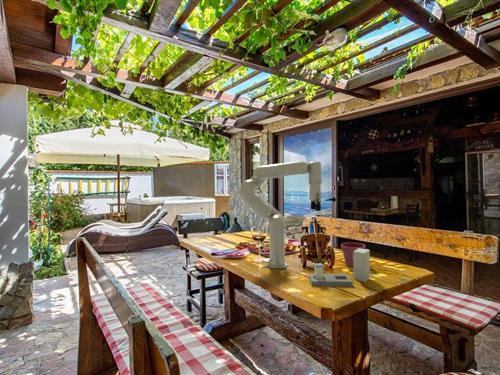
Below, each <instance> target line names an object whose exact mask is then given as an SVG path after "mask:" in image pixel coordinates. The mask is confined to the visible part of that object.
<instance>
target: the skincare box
mask: <svg viewBox="0 0 500 375" xmlns="http://www.w3.org/2000/svg"><path fill="white" fill-rule="evenodd" d="M370 256H371V252H370V249H368V248H365V249H360V248H358V249H357V250H355V251H353V267H352V268H353V269H352V270H353V274H352V275H353V279H354V280H356V281H357V282H361V283H362V282H363V283H366V282H367V281H369V279H370V278H371V276H370V273H371V272H370V270H371V269H370V268H371V267H370V266H371V264H370V262H371V261H370V258H371V257H370Z"/></svg>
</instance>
